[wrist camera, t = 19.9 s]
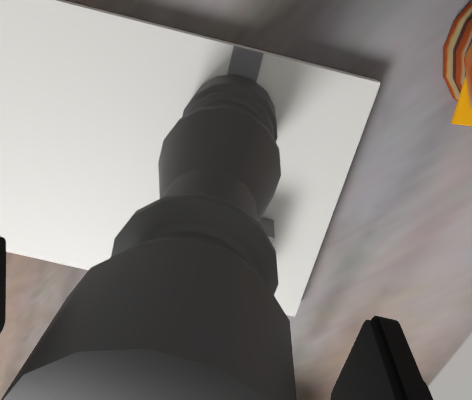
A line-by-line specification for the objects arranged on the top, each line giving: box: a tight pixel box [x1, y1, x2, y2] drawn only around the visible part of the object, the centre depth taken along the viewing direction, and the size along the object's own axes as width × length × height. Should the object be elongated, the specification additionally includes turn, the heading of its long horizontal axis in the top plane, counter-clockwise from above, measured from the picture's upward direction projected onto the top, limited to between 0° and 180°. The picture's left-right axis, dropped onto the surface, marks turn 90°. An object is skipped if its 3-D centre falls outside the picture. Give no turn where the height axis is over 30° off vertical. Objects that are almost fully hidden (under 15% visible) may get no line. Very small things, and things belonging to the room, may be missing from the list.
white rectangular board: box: [0, 0, 381, 317], centre depth 33 cm, size 20×26×2 cm
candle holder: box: [1, 74, 296, 400], centre depth 19 cm, size 6×6×25 cm
